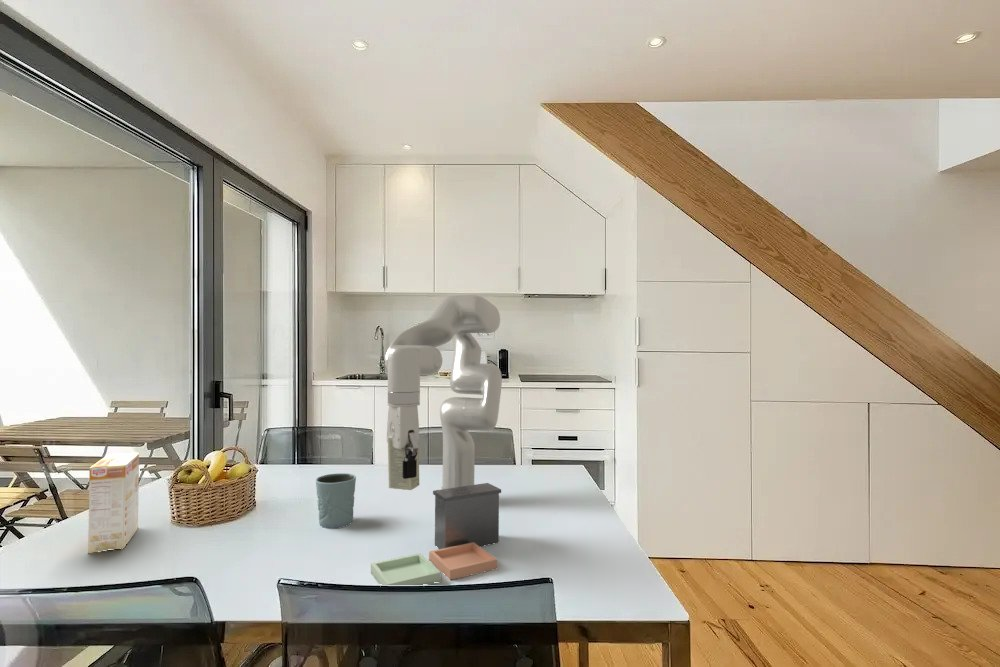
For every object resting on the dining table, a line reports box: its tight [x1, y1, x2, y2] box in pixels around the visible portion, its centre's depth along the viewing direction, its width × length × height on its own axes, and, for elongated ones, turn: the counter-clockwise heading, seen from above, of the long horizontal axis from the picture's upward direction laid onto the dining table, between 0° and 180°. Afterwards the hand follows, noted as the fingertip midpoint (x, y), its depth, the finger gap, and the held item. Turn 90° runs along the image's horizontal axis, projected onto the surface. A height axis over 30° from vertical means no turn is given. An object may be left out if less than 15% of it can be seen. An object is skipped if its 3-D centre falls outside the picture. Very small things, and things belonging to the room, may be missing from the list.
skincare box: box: [387, 437, 420, 491], centre depth 124 cm, size 6×4×12 cm
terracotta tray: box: [428, 542, 498, 581], centre depth 113 cm, size 11×11×2 cm
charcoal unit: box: [432, 482, 502, 549], centre depth 125 cm, size 7×15×13 cm, turn 120°
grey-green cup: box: [315, 472, 357, 529], centre depth 139 cm, size 10×10×12 cm
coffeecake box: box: [87, 452, 140, 554], centre depth 126 cm, size 15×7×20 cm, turn 23°
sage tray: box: [370, 552, 442, 585], centre depth 107 cm, size 11×11×2 cm
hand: (403, 473), depth 124 cm, fingers closed on skincare box, 7 cm apart
